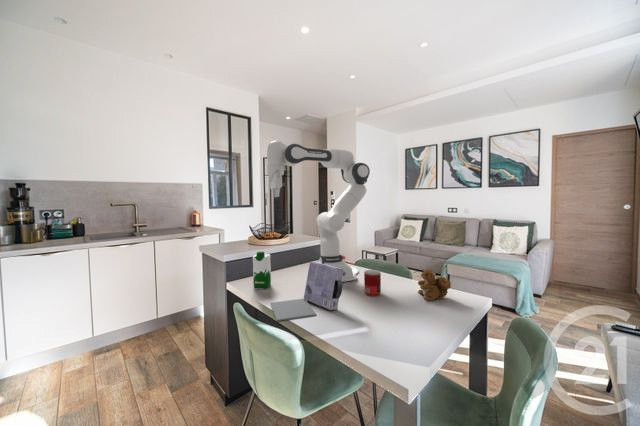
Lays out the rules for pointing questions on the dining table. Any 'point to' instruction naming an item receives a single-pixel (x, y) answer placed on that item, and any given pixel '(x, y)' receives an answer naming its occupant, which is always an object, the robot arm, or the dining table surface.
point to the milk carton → (261, 270)
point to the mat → (292, 309)
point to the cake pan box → (323, 285)
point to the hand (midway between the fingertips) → (276, 197)
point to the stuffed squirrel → (433, 285)
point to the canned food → (372, 282)
